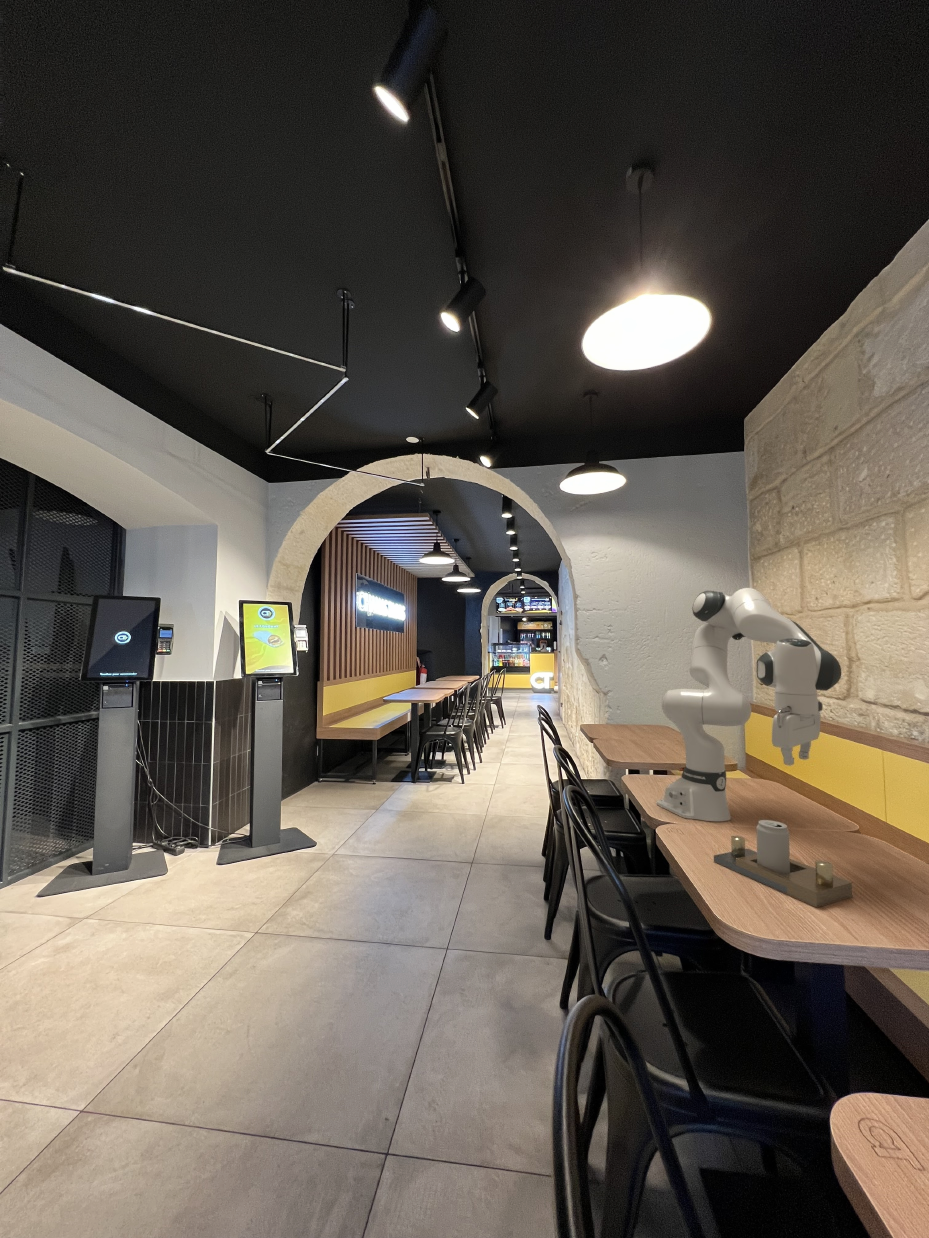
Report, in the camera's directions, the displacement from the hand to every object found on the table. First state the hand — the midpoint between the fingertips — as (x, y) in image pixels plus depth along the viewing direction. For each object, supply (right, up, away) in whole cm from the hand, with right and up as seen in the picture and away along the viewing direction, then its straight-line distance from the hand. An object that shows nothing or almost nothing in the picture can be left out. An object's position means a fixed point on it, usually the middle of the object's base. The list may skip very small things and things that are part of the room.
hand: (796, 761), depth 126 cm
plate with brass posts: (-10, -24, -9) cm, 27 cm away
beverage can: (-11, -24, -9) cm, 28 cm away
